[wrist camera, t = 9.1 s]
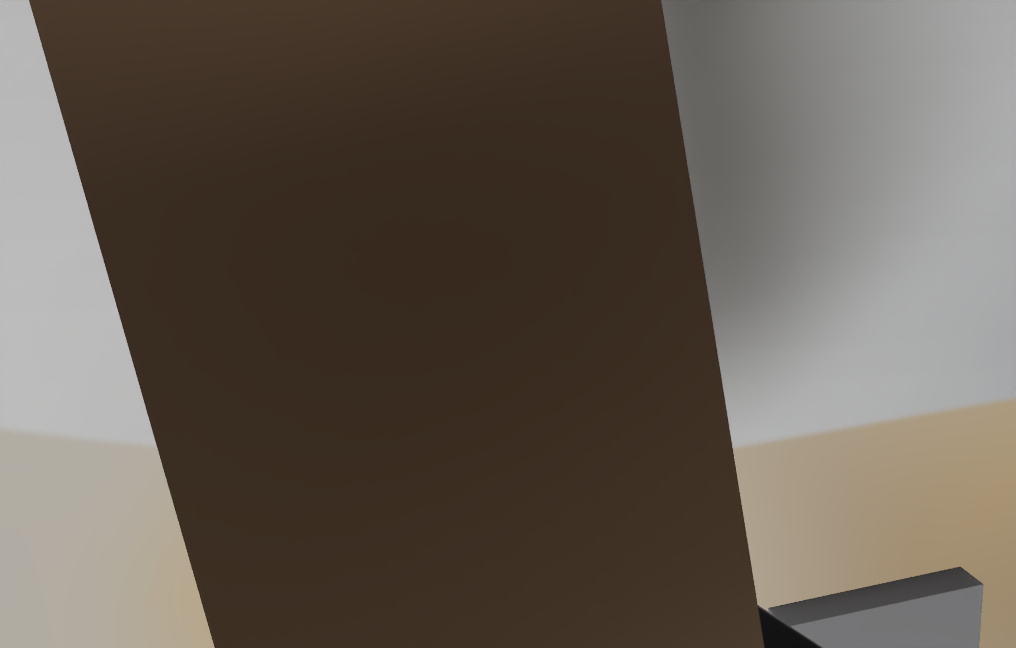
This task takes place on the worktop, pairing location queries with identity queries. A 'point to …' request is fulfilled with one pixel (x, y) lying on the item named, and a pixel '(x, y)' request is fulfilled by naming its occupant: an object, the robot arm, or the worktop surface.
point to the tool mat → (894, 614)
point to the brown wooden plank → (415, 316)
